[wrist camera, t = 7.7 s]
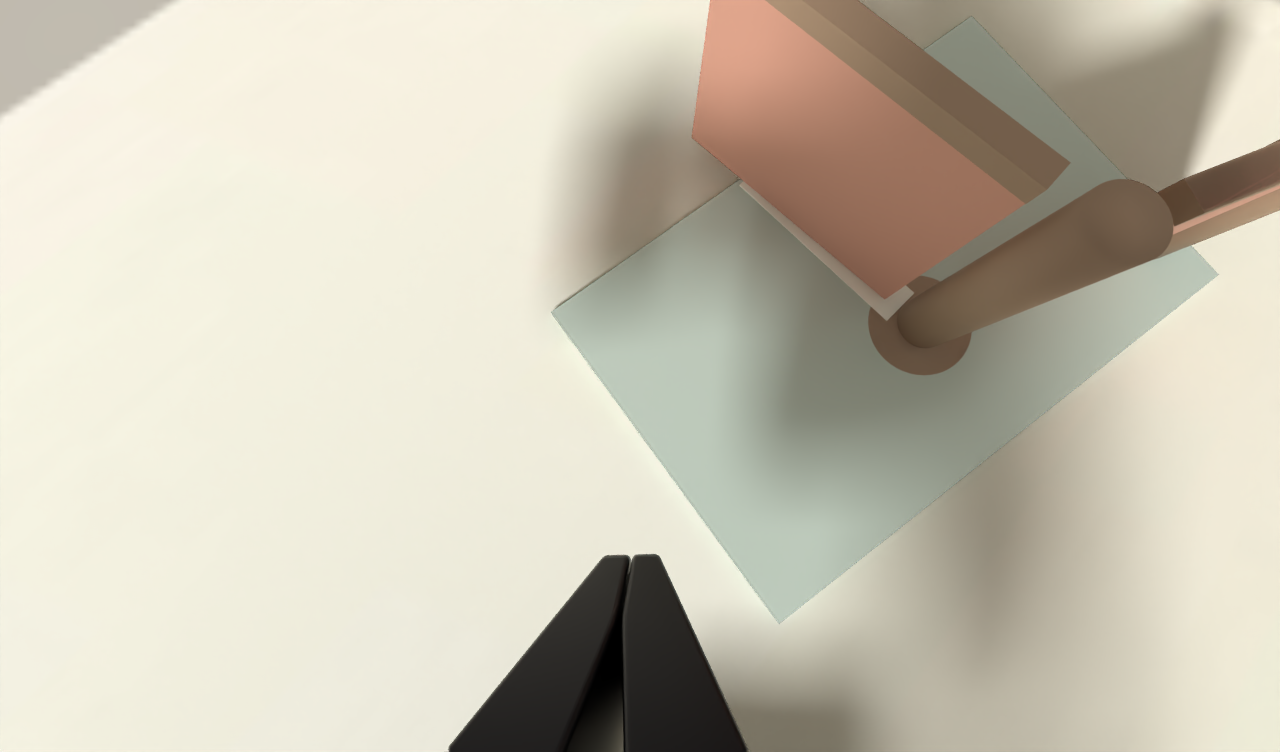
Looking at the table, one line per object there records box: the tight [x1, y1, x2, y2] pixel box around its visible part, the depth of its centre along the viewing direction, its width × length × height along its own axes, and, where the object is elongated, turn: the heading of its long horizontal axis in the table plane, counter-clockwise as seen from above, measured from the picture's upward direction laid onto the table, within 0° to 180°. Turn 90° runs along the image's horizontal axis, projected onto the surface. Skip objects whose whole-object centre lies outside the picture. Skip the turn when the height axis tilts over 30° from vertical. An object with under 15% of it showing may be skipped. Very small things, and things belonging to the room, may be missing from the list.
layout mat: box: [551, 16, 1219, 624], centre depth 21 cm, size 14×22×1 cm, turn 126°
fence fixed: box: [868, 140, 1280, 375], centre depth 17 cm, size 6×13×10 cm, turn 126°
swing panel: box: [692, 0, 1173, 348], centre depth 17 cm, size 13×2×9 cm, turn 47°
